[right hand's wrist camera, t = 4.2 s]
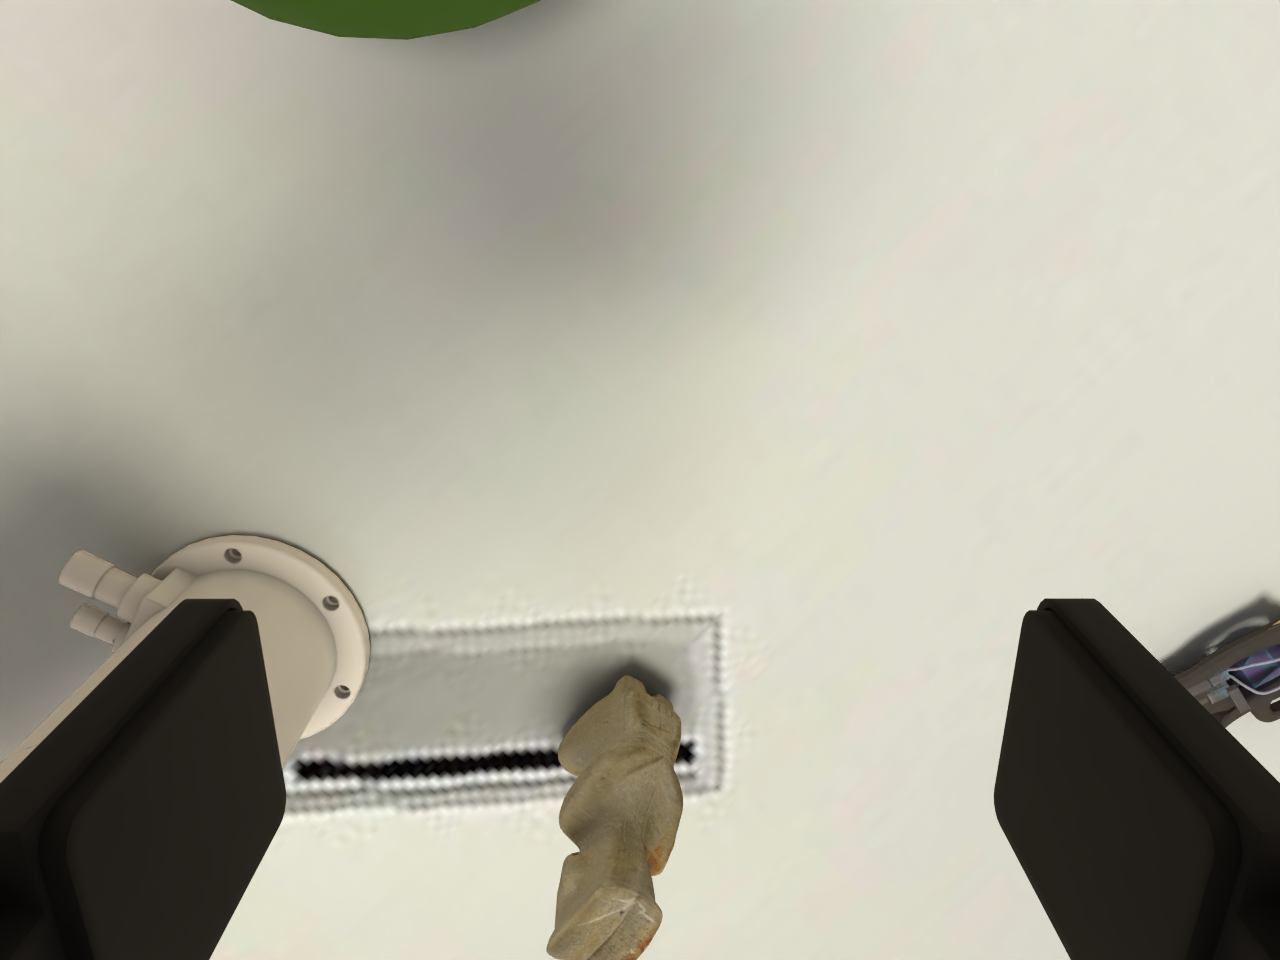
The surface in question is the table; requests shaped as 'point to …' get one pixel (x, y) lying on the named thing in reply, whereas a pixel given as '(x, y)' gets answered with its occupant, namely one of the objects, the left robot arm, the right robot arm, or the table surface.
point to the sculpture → (617, 824)
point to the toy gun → (1239, 677)
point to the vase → (385, 15)
